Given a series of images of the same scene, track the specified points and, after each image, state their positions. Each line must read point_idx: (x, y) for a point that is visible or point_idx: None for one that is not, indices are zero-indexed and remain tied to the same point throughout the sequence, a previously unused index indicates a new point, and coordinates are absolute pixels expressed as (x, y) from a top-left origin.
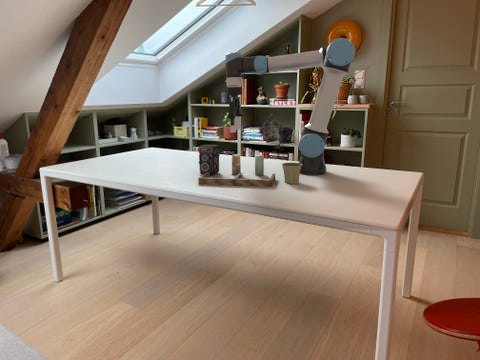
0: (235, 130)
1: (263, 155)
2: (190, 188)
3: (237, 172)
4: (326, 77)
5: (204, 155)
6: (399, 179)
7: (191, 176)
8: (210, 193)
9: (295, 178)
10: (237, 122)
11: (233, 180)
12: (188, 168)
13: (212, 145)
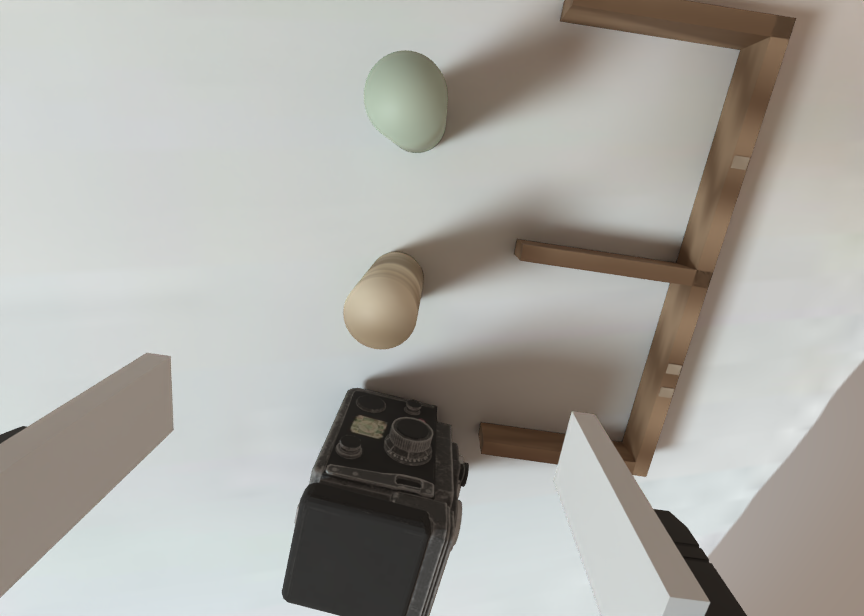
0: (603, 431)
1: (394, 53)
2: (708, 478)
3: (421, 273)
4: None
5: (456, 537)
6: None
7: None
8: (822, 379)
9: None
10: (89, 477)
11: (704, 284)
12: (254, 553)
13: (352, 543)
